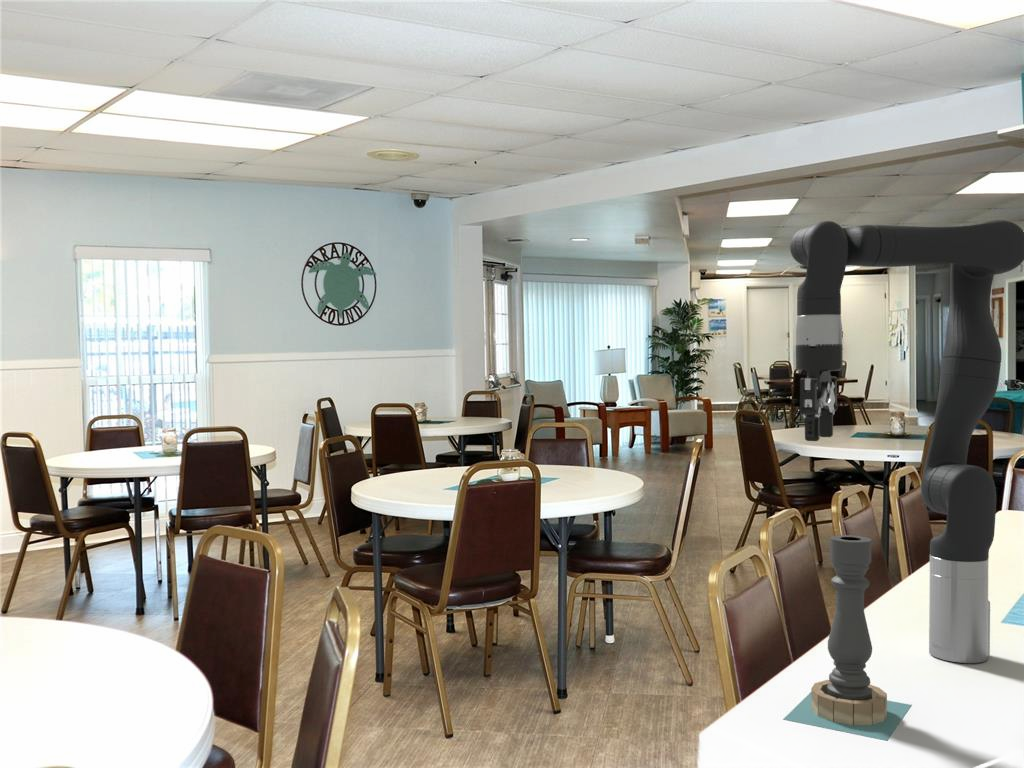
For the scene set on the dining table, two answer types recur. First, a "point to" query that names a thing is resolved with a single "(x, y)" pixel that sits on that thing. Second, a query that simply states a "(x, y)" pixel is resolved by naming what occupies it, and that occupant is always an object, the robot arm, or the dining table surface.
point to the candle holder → (850, 619)
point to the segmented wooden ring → (849, 706)
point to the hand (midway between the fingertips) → (819, 438)
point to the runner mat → (877, 731)
